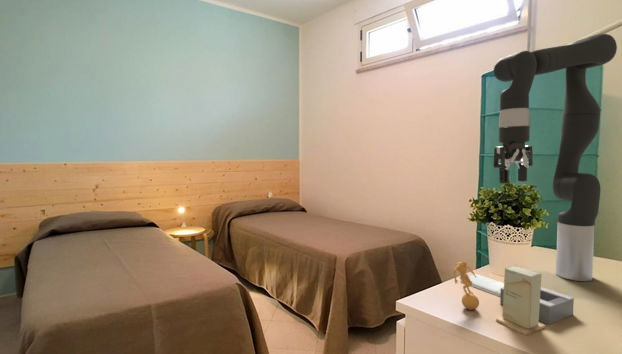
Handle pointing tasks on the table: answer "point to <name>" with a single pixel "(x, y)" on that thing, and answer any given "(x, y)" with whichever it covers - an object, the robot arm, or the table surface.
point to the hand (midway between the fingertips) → (513, 182)
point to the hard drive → (486, 284)
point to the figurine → (469, 298)
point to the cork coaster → (520, 328)
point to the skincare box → (521, 296)
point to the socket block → (551, 305)
